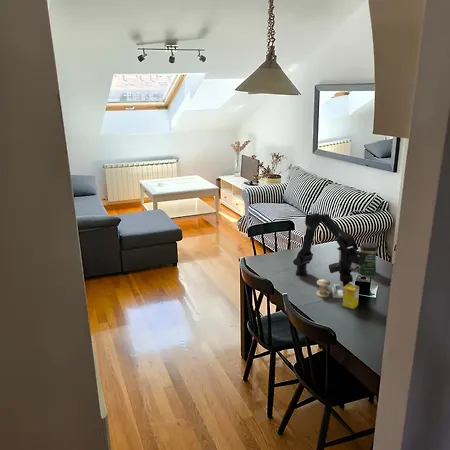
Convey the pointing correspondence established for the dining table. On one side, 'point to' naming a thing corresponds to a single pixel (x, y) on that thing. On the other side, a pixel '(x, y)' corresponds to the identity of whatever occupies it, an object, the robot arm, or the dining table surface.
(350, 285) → the supplement box
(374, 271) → the coffee jar
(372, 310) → the dining table surface
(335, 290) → the white rectangular tray
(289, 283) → the dining table surface
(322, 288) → the spool
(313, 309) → the dining table surface
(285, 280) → the dining table surface
